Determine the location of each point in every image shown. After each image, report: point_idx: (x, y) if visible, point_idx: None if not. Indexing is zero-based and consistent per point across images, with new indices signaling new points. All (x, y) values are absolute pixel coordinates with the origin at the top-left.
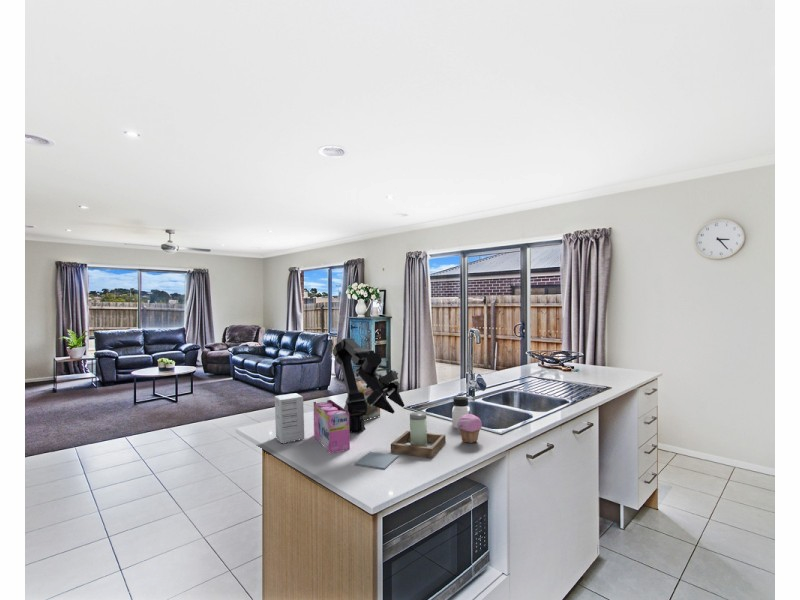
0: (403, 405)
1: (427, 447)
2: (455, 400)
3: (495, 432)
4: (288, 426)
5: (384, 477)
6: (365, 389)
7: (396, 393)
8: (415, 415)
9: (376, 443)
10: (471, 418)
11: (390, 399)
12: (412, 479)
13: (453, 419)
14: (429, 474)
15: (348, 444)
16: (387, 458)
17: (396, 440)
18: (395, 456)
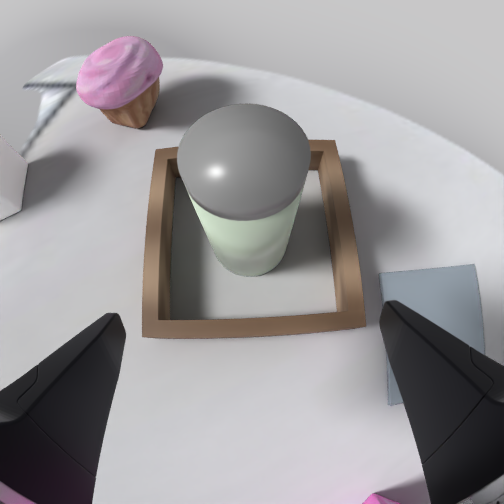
0: (117, 322)
1: (329, 158)
2: None
3: (64, 99)
4: None
5: (496, 241)
6: None
7: (25, 433)
8: (281, 153)
9: (273, 446)
10: (133, 40)
11: (93, 491)
12: (466, 172)
13: (4, 194)
14: (425, 142)
15: (384, 502)
16: (421, 298)
17: (311, 323)
18: (394, 279)
